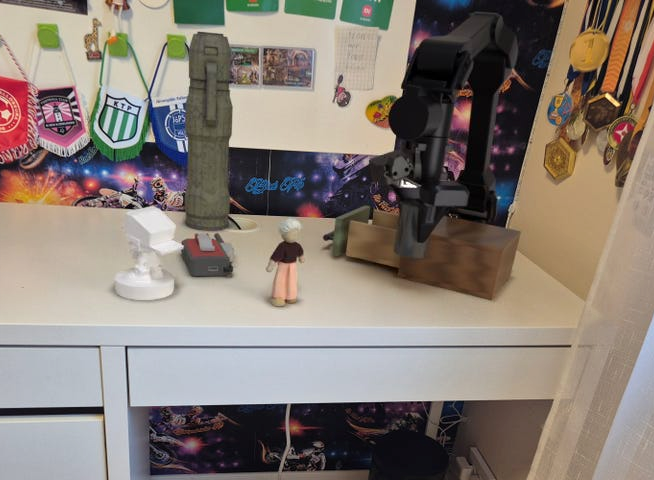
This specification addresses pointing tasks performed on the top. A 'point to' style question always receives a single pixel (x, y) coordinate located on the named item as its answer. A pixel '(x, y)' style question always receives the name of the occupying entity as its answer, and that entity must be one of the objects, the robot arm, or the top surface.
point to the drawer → (366, 236)
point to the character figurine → (147, 255)
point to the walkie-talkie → (207, 255)
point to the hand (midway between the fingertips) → (412, 237)
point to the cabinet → (465, 258)
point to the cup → (409, 232)
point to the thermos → (208, 132)
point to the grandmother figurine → (286, 263)
